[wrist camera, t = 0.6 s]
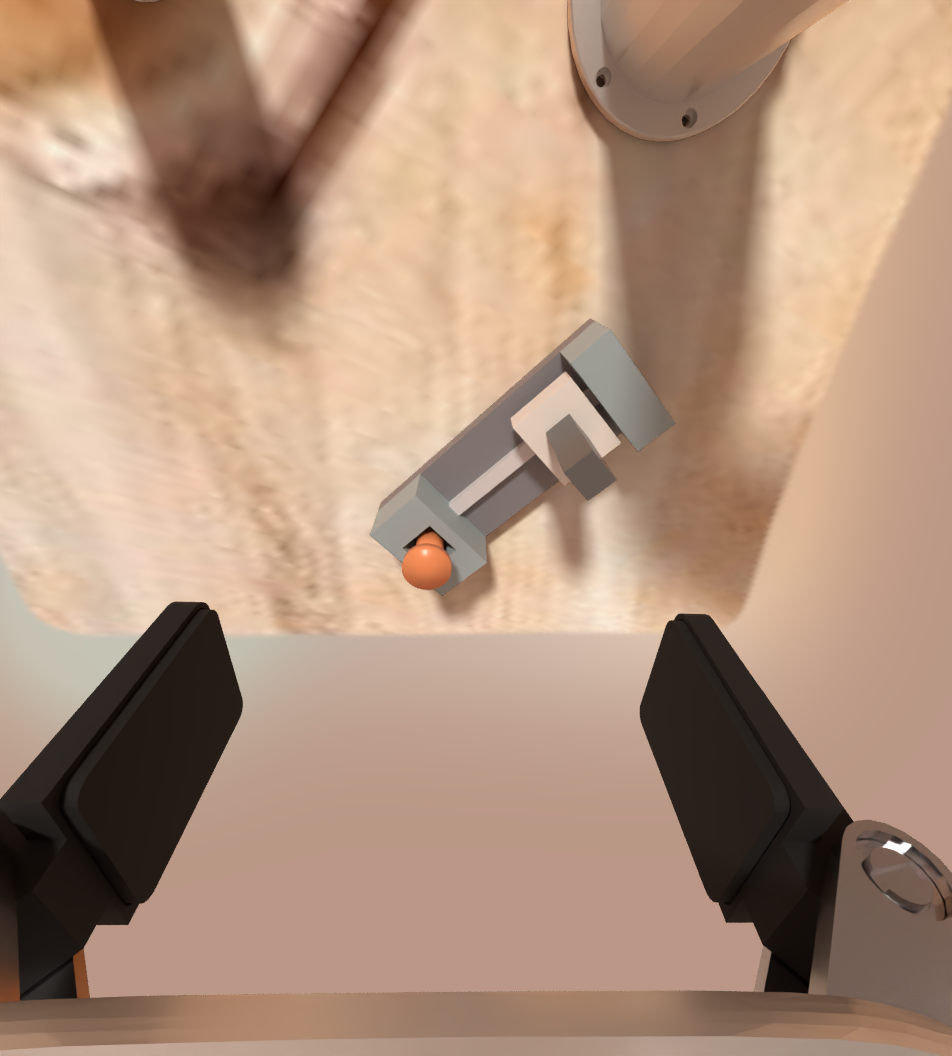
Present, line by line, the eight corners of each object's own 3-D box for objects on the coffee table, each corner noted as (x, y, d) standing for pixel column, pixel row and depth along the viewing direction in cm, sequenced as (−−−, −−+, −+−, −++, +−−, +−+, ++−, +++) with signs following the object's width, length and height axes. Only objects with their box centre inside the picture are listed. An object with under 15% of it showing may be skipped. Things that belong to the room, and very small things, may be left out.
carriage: (565, 371, 33) (596, 408, 25) (613, 432, 35) (655, 485, 27) (510, 418, 34) (523, 467, 26) (559, 474, 36) (584, 535, 29)
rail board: (590, 318, 33) (610, 328, 29) (648, 401, 36) (675, 423, 32) (381, 502, 41) (369, 535, 36) (444, 558, 44) (441, 596, 39)
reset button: (431, 507, 37) (426, 540, 33) (462, 535, 39) (461, 571, 34) (400, 533, 38) (391, 568, 34) (431, 560, 40) (426, 597, 35)
